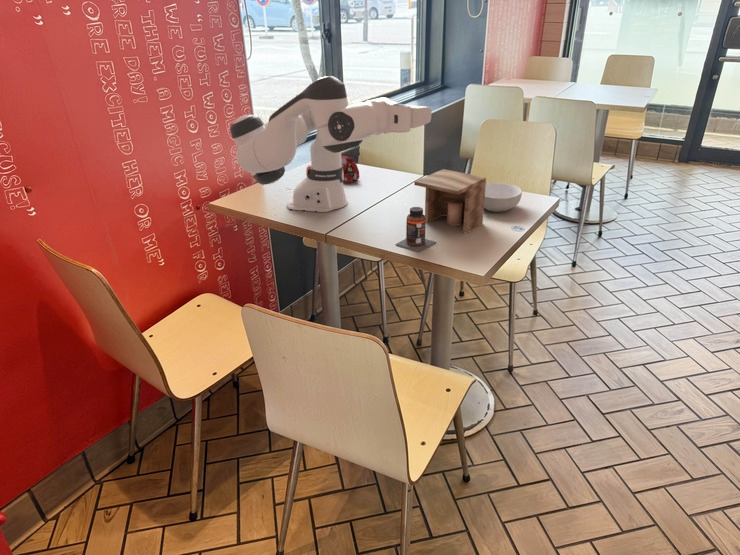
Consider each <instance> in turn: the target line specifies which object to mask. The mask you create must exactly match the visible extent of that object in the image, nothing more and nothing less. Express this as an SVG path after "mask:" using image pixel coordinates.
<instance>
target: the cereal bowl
mask: <svg viewBox="0 0 740 555" xmlns="http://www.w3.org/2000/svg"><path fill="white" fill-rule="evenodd" d="M522 195H523V194H522V189H521V188H520V187H519V186H517V185H513V184H511V183H505V182H504V183H503V182H486V186H485V198H484V209H486V211H489V212H493V211H494V213H501V212H506V211H507V210H511V209H513V208H515V207H516V206H517V205H519V203H520V201H521V199H522Z"/></svg>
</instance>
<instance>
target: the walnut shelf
mask: <svg viewBox="0 0 740 555" xmlns="http://www.w3.org/2000/svg"><path fill="white" fill-rule="evenodd" d="M486 181H487V177H486V176H481V175H476V174H470V173H466V172H461V171H455V170H450V169H445V168H443V169H440V170H438V171H435V172H433V173H431V174H428V175H426V176H424V177H421V178H420V179H417V180H415V181H414V186H418V187H421V188H425V201H424V202H425V204H424V215H425V217H426V224H428V223H430V221H431V222H433V221H434V220H436V219H439V218H440V217H442V216H443V217H444V216H445V217H447V215H448V202H450V201H461V202H463V213H462V221H463V228H462V230H463V231H462V233H463V234H468V233H470V232H471V231H473V230H475V229H476V228H478V227H479V226H481V225H482V224H484V223H483V222H484V209H485V208H484V198H485V186H486V183H487V182H486ZM469 231H470V232H469Z"/></svg>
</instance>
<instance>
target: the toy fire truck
mask: <svg viewBox="0 0 740 555" xmlns="http://www.w3.org/2000/svg"><path fill="white" fill-rule="evenodd" d="M341 164H342V166H343V173H344V180H343V183H344V182H345V183H344V184H346V183H348V184H350V183H351V182H352V181H354V180H356V181H358V180H360V170H359V167H358V164H357V162H356V161H354V158H353V157H352V156H351V157H349V156H345V155H341Z"/></svg>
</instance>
